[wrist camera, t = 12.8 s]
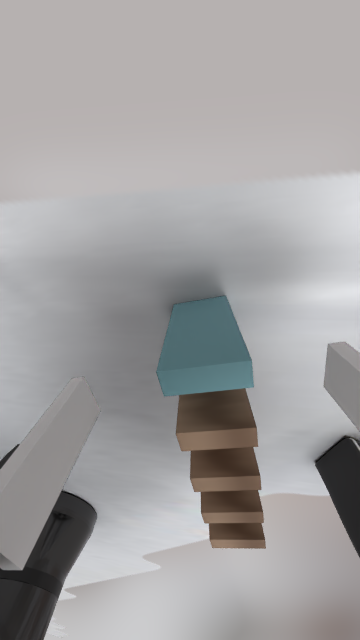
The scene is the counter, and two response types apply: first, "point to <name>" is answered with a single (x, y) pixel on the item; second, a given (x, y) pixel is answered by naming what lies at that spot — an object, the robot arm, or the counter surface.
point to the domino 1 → (203, 350)
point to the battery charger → (344, 484)
